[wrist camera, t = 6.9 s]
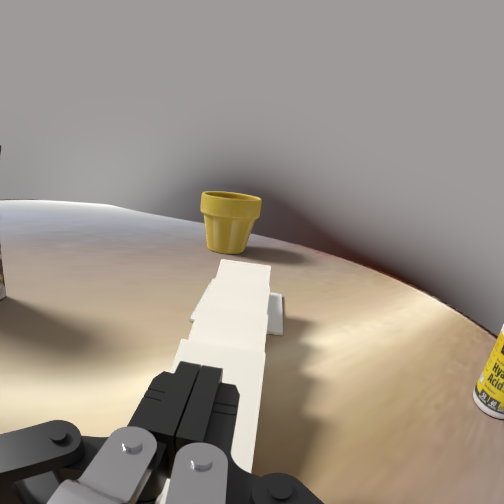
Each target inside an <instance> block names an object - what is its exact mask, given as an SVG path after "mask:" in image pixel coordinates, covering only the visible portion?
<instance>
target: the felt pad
mask: <svg viewBox="0 0 504 504" xmlns="http://www.w3.org/2000/svg"><path fill="white" fill-rule="evenodd" d="M210 285H211V284H209V285H208V287H207V289H206V291H205V293H204V294H203V296H202V298H201V300H200V301H199V303H198V305H197V307H196V309H195V310H194V312H193V314H192V316H191V317H190V322H194V320H195V317H196V314H197V311H198V308H199V305H200V304H202V305H204V303H205V300H206V297H207V294H208V291H209V288H210ZM267 315H268V324H267V333H266V334H273V335H281V336H283V316H282V294H277V293H270V292H269V300H268V309H267Z"/></svg>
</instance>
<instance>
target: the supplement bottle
mask: <svg viewBox="0 0 504 504" xmlns="http://www.w3.org/2000/svg"><path fill="white" fill-rule="evenodd" d="M473 398H474V401H475V403H476V404H477V406H478V407H479V408H480V409H481V410H482V411H483V412H485V413H486V414H488V415H490V416H492V417H495V418H498V419H504V325H503V327H502V329H501V332H500V334H499V336H498V339H497V341H496V343H495V346H494V348H493V350H492V353H491V355H490V357H489V359H488V361H487V363H486V366H485V368H484V370H483V372H482V374H481V376H480V378H479V380H478V382H477V384H476V386H475V388H474V391H473Z"/></svg>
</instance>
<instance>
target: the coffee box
mask: <svg viewBox="0 0 504 504" xmlns="http://www.w3.org/2000/svg"><path fill="white" fill-rule="evenodd" d="M0 152H1V145H0ZM4 297H6V289H5V283H4V275H3V267H2V257H1V246H0V300H1V299H2V298H4Z"/></svg>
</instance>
